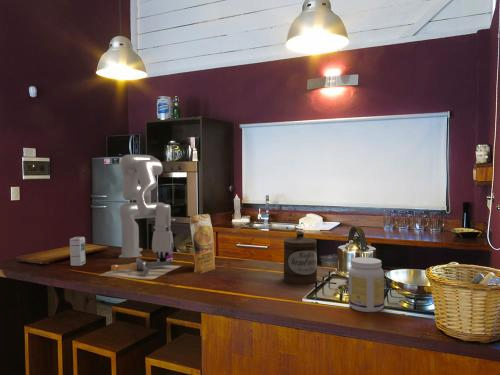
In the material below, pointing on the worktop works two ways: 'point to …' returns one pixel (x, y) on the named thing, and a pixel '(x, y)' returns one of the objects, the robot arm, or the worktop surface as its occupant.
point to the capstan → (140, 265)
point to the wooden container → (300, 259)
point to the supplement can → (169, 257)
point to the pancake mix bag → (202, 243)
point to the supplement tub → (366, 284)
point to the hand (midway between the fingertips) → (163, 264)
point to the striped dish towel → (141, 272)
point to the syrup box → (77, 251)
